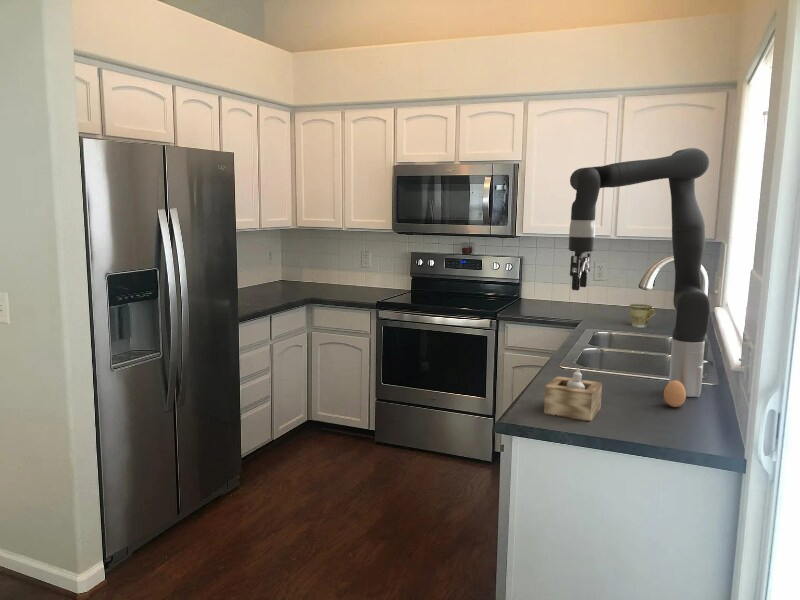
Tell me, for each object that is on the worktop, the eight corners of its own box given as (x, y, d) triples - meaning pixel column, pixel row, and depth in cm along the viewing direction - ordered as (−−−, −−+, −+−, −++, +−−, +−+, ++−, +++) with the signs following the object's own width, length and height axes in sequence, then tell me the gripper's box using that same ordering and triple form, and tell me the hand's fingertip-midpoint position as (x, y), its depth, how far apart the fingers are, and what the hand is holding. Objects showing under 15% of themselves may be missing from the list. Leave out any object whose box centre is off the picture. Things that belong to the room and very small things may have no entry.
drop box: (600, 409, 187) (602, 382, 186) (590, 421, 177) (591, 393, 176) (556, 402, 194) (557, 376, 192) (543, 413, 183) (545, 386, 182)
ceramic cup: (623, 325, 310) (625, 304, 308) (636, 323, 316) (637, 303, 314) (648, 330, 300) (649, 308, 298) (660, 327, 305) (662, 306, 304)
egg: (659, 406, 190) (661, 380, 189) (666, 402, 195) (668, 376, 193) (681, 411, 186) (683, 384, 185) (687, 406, 191) (689, 380, 190)
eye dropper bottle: (566, 411, 182) (572, 370, 181) (562, 405, 188) (568, 365, 186) (582, 413, 182) (588, 372, 180) (577, 407, 188) (583, 367, 186)
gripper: (588, 236, 187) (585, 292, 190) (600, 234, 199) (597, 286, 202) (563, 236, 191) (560, 290, 193) (575, 233, 203) (573, 284, 206)
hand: (579, 288), depth 198 cm, fingers open, 8 cm apart
